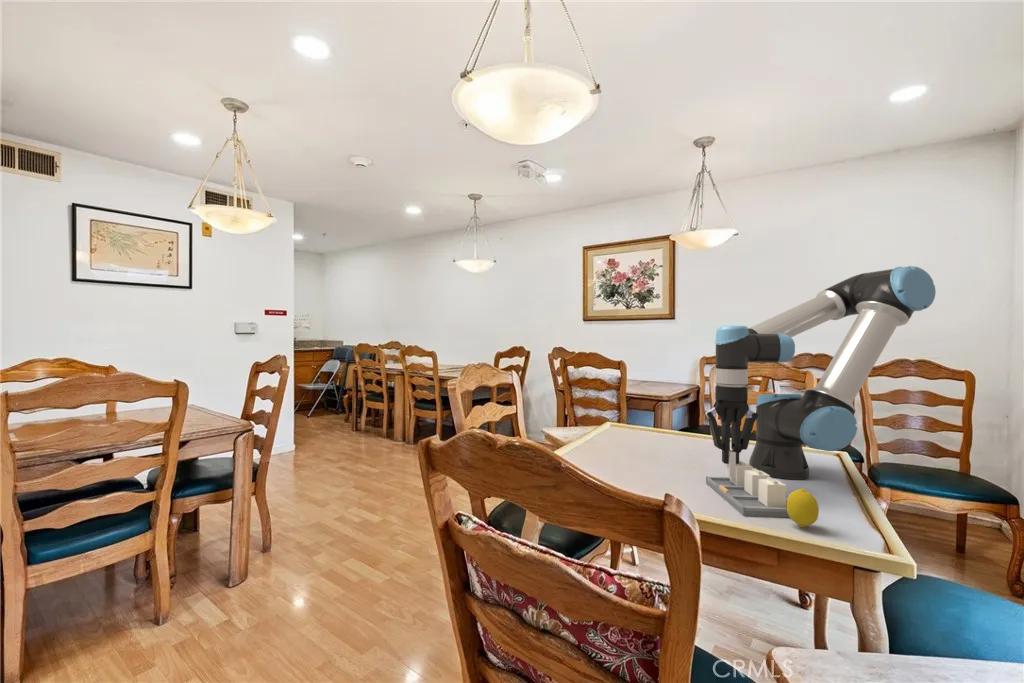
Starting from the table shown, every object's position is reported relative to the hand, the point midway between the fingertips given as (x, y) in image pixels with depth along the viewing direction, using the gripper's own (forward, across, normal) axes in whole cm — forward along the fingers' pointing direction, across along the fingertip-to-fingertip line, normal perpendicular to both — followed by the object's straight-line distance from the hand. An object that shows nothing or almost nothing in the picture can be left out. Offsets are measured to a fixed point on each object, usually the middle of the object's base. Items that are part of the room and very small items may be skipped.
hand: (730, 475), depth 113 cm
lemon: (+4, -5, +23) cm, 24 cm away
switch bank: (+3, -1, +7) cm, 8 cm away
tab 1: (+2, -3, 0) cm, 3 cm away
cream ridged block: (+2, -3, +7) cm, 8 cm away
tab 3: (+2, -3, +14) cm, 15 cm away
